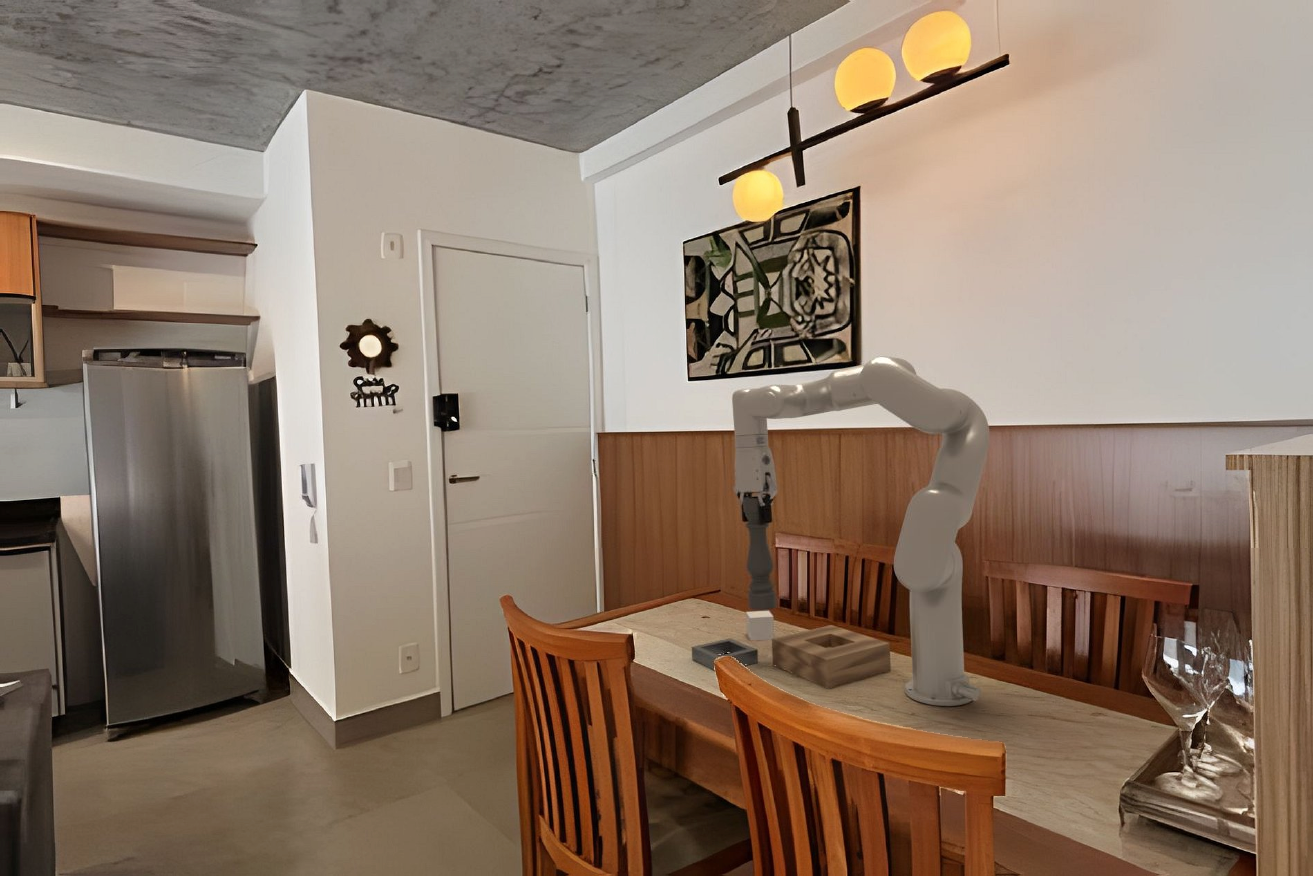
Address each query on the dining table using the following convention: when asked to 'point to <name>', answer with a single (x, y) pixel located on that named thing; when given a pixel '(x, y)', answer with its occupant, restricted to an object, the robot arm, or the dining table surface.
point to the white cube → (760, 625)
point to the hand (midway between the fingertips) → (757, 521)
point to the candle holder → (758, 559)
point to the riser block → (831, 655)
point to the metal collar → (711, 650)
